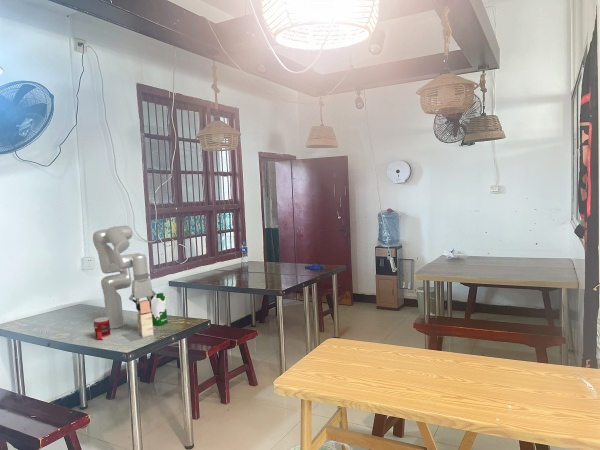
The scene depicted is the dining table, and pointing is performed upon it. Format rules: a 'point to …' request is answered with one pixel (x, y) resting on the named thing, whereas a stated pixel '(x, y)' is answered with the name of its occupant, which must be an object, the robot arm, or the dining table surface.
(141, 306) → the terracotta block
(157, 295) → the milk carton
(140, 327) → the beech block base
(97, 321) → the canned food
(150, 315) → the beech block mid
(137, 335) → the slate board
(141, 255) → the robot arm
